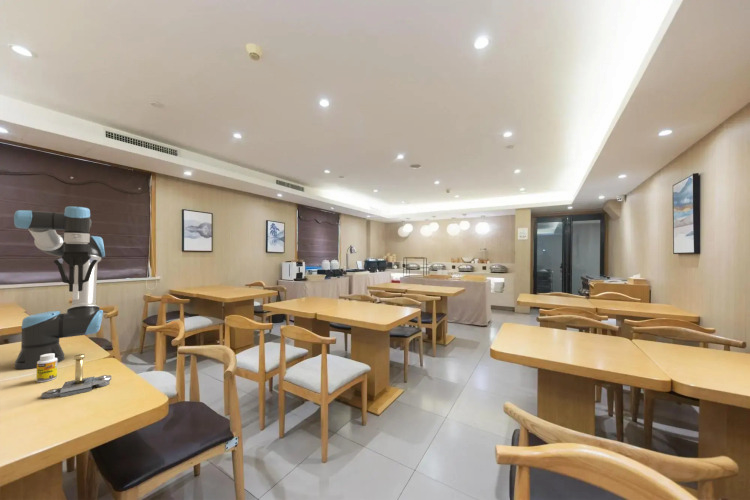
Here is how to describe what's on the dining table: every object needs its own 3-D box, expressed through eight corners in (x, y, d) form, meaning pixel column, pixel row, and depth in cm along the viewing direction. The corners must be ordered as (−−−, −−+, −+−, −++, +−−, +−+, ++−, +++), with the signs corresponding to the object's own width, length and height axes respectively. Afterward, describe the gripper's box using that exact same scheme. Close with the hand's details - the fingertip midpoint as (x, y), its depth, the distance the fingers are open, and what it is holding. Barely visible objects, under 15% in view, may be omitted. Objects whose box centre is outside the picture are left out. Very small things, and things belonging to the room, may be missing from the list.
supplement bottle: (33, 384, 113) (34, 358, 113) (39, 378, 118) (40, 353, 118) (54, 380, 116) (54, 355, 116) (59, 375, 121) (59, 351, 121)
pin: (73, 389, 109) (74, 355, 109) (84, 387, 111) (85, 353, 111) (72, 392, 106) (73, 357, 107) (83, 390, 108) (84, 355, 108)
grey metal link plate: (44, 393, 106) (44, 384, 106) (112, 379, 117) (112, 371, 117) (38, 401, 100) (38, 392, 100) (110, 386, 111) (110, 378, 111)
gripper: (51, 242, 114) (50, 302, 114) (97, 243, 122) (96, 298, 122) (56, 243, 120) (55, 299, 120) (99, 244, 128) (98, 296, 128)
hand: (75, 299), depth 121 cm, fingers closed
